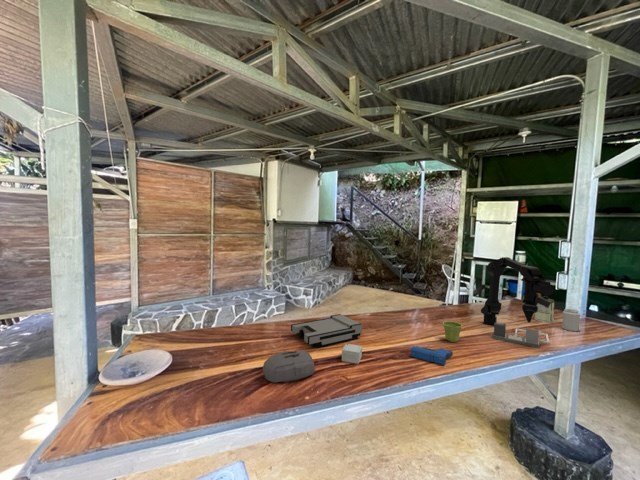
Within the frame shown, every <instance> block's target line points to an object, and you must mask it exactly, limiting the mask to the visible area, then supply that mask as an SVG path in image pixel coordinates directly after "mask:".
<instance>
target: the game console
mask: <svg viewBox="0 0 640 480" xmlns="http://www.w3.org/2000/svg"><path fill="white" fill-rule="evenodd" d="M290 331H291V332H292V333H294V334H295V335H297V336H298V337H300V338H302V339H303V341H304V342H306V343H307V344H308V345H311V346H312V347H314V348H316V349H320V348H325V347H330V346H335V345H339V344H342V343H346V342H352V341H354V340H358V338H359V337H360V336H361V334H362V333H363V323H360V322H358V321H356V320H354V319H353V318H352V319H351V318H350V317H347V316H345V315H344V314H341V313H340V314H338V313H337V314H333V315H330V317H328V318H327V317H326V318H320V319H315V320H311V321H309V320H308V321H304V322H298V323H292V324H290Z"/></svg>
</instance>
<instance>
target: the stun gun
mask: <svg viewBox="0 0 640 480" xmlns="http://www.w3.org/2000/svg"><path fill="white" fill-rule="evenodd" d="M409 353H410V357H411V358H413V359H414V358H415V359H418V360H422V361H426V362H429V363H434V364H437V365H442V366H446V364H447V360H448V359H450V358H452V357H453V353H454V352H453V351H452V350H449V349H444V348H439V349H437V350H436V349H431V348H427V347H424V346H423V347H422V346H418V345H413V346H411V348H410V352H409Z"/></svg>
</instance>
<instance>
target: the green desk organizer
mask: <svg viewBox="0 0 640 480" xmlns="http://www.w3.org/2000/svg"><path fill="white" fill-rule="evenodd" d="M548 300H550V301H551V304H550V306H549V308H547V307H545V306H543V305H541V304H538V305H537V306H538V311H537V312H536V313H534V314H533V316H534V318H533V319H534V320H536V321H539V322H542V323H554V322H555V320H554V318H555V317H554V316H555V302H556V301H555V300H554V299H552V298H548Z"/></svg>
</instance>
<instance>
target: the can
mask: <svg viewBox="0 0 640 480" xmlns="http://www.w3.org/2000/svg"><path fill="white" fill-rule="evenodd" d="M580 316H581V315H580V313H579V311H578V310H575V309H571V308H564V310H563V311H562V323H561V326H562V328H563V330H565V331H569V332H576V333H577V332H579V331H580Z"/></svg>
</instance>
